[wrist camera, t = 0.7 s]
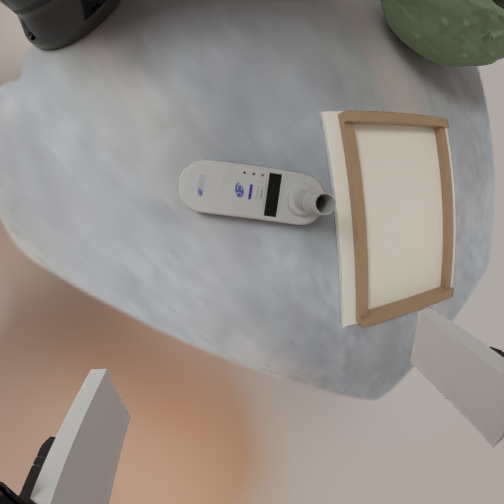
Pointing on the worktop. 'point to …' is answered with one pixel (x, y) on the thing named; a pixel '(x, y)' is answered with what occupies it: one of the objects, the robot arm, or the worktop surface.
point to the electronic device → (253, 192)
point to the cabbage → (449, 29)
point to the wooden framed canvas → (391, 212)
